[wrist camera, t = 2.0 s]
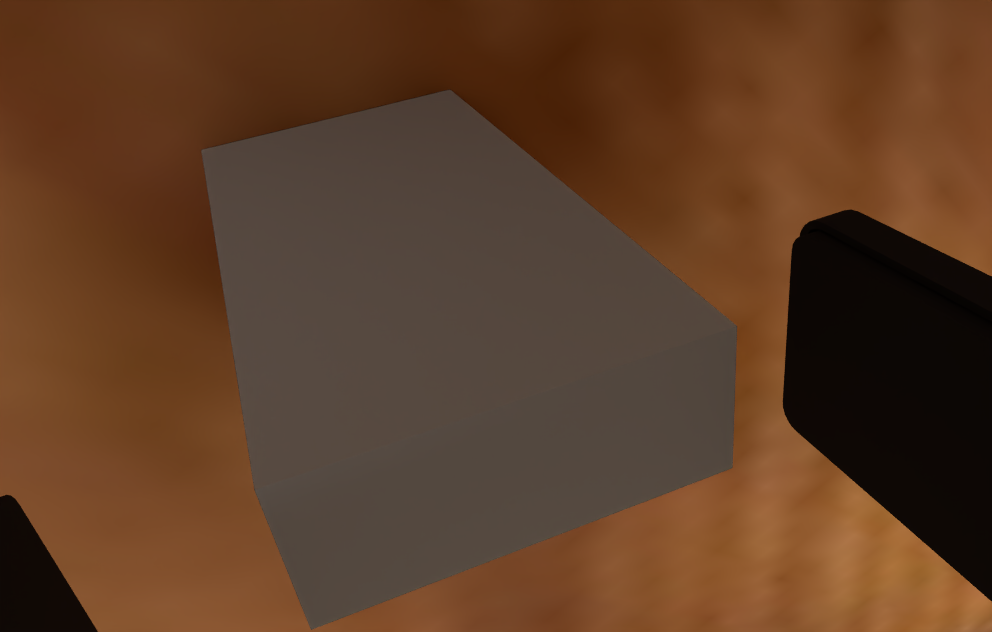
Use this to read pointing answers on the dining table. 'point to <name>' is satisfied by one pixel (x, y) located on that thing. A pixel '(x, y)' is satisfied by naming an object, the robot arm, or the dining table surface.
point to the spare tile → (447, 350)
